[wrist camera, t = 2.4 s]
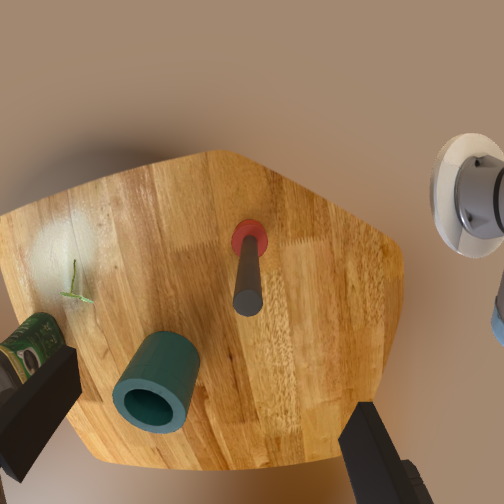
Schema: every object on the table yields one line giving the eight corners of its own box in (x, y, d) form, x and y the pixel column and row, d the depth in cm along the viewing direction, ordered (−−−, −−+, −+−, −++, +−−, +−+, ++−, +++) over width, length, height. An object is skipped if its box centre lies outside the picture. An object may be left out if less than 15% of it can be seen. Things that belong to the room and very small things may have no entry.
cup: (202, 337, 45) (186, 388, 32) (198, 386, 47) (185, 439, 34) (140, 325, 44) (108, 370, 32) (141, 374, 47) (116, 423, 34)
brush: (268, 222, 41) (290, 274, 17) (263, 253, 42) (277, 339, 18) (236, 217, 41) (215, 263, 17) (231, 248, 42) (207, 329, 18)
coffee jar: (28, 312, 44) (-32, 355, 26) (54, 309, 44) (-10, 357, 26) (46, 355, 46) (-4, 406, 28) (73, 355, 46) (22, 413, 28)
